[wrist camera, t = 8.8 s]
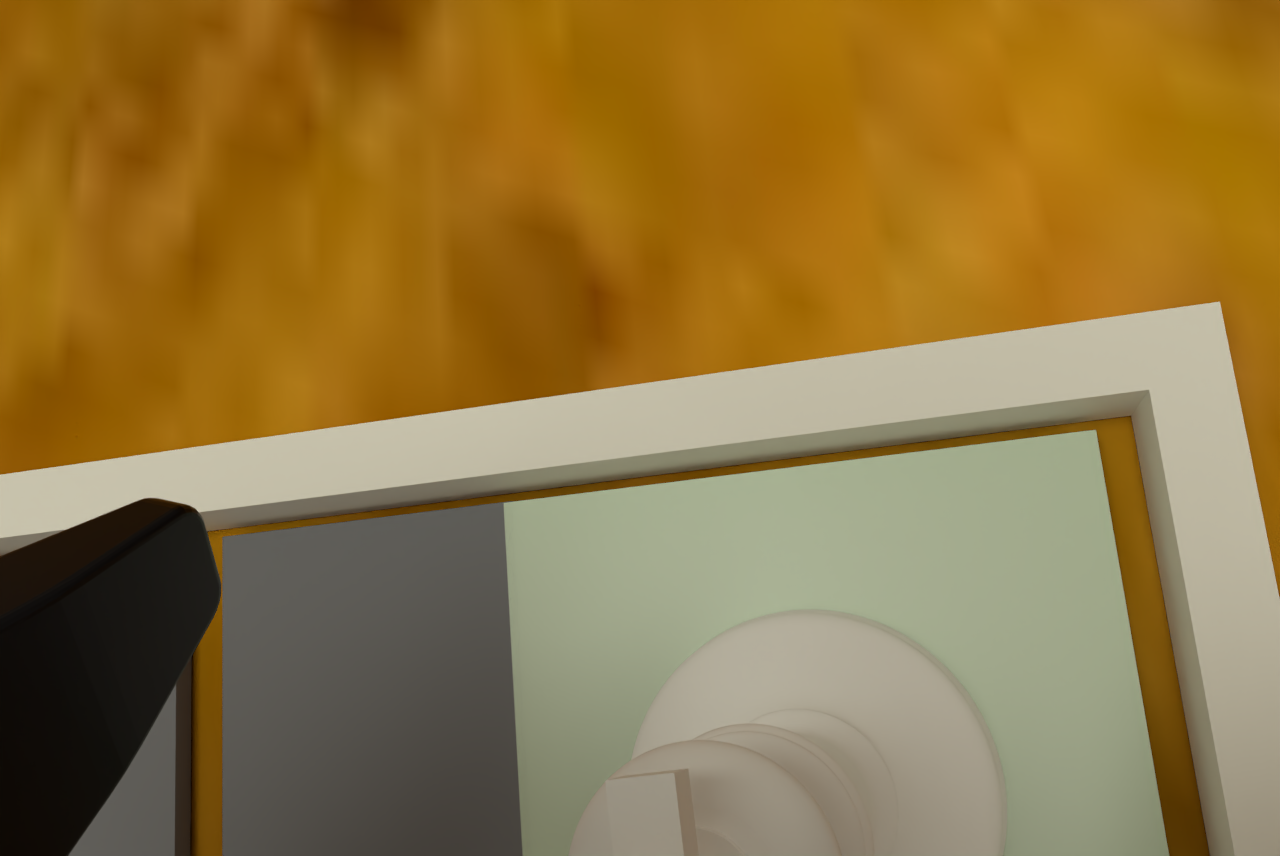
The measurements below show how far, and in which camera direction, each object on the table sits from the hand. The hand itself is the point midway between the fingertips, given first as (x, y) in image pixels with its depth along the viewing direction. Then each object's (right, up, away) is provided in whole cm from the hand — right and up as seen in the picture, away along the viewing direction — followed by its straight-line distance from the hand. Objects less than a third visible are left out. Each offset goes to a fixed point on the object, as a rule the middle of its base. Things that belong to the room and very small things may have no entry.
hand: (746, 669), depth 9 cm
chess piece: (+2, -3, +8) cm, 8 cm away
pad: (+2, -3, +8) cm, 9 cm away
